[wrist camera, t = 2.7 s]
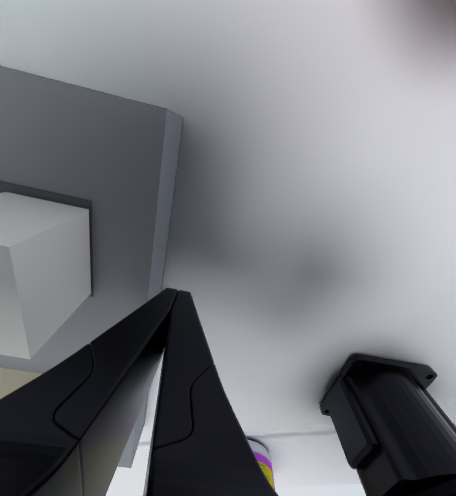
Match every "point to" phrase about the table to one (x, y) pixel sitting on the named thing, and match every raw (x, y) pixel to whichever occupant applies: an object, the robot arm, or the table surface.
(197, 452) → the robot arm
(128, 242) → the panel
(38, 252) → the lever
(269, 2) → the table surface
